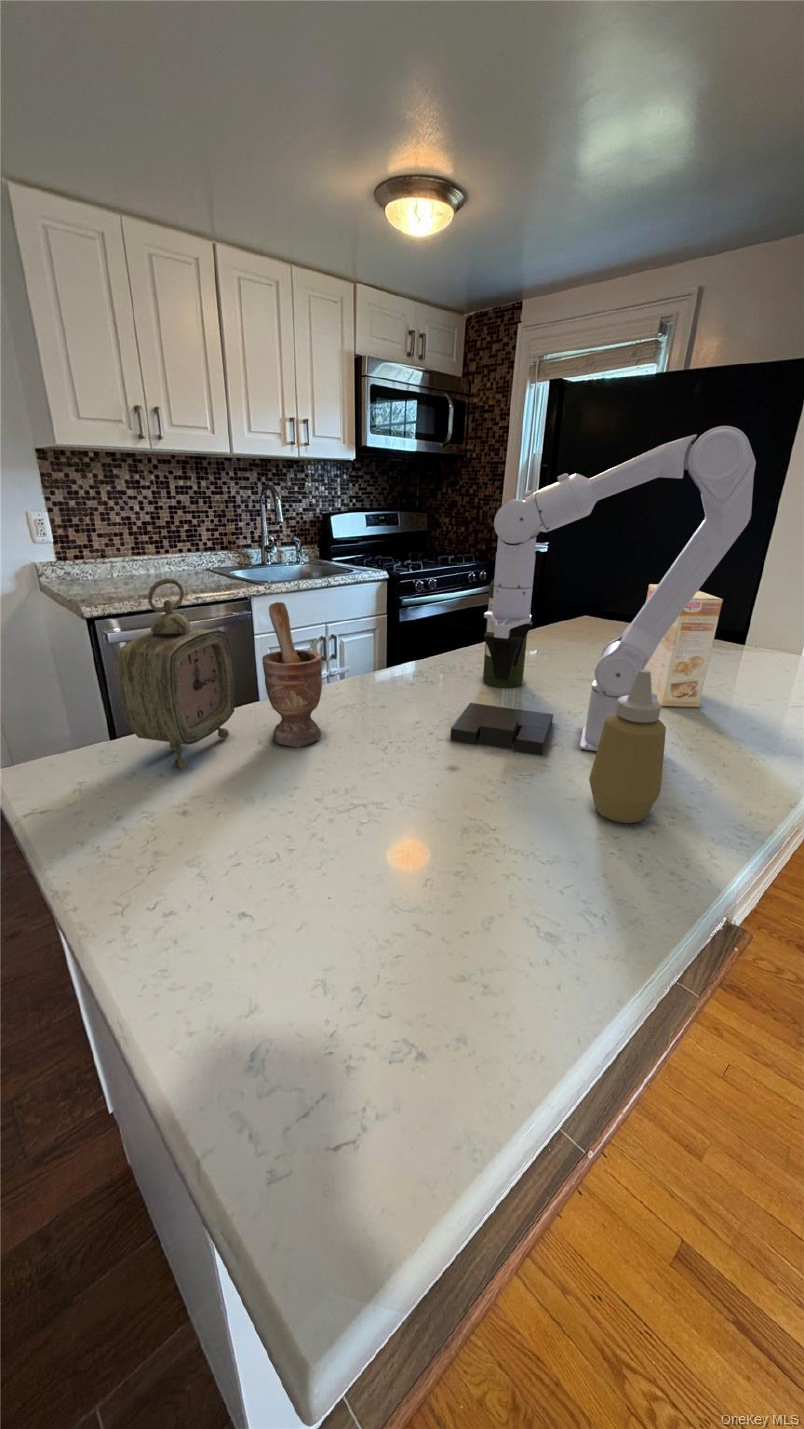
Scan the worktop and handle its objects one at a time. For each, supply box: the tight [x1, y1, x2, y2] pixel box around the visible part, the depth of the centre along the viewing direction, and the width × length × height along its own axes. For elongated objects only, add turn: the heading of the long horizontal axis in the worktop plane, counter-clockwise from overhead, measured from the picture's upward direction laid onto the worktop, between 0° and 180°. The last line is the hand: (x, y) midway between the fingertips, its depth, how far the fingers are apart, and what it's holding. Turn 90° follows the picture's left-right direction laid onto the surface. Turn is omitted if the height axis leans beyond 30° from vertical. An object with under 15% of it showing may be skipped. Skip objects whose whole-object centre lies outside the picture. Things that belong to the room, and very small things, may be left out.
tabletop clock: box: [114, 578, 236, 771], centre depth 79 cm, size 14×9×25 cm, turn 164°
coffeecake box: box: [644, 583, 724, 708], centre depth 105 cm, size 15×7×20 cm, turn 179°
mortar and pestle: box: [261, 601, 323, 749], centre depth 86 cm, size 12×9×20 cm
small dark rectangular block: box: [478, 716, 518, 750], centre depth 87 cm, size 5×4×3 cm
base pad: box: [449, 702, 554, 756], centre depth 90 cm, size 14×12×2 cm
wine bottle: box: [482, 578, 528, 689], centre depth 108 cm, size 8×8×30 cm
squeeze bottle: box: [588, 670, 667, 824], centre depth 66 cm, size 8×8×18 cm
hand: (506, 671), depth 90 cm, fingers open, 7 cm apart
